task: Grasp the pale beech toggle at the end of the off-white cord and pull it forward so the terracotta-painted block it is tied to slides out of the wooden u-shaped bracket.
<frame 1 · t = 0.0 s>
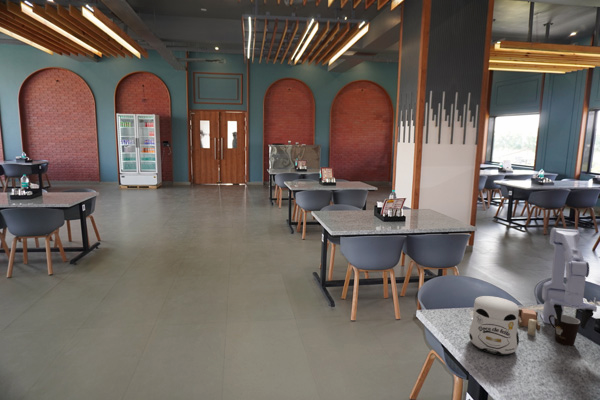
hand: (570, 325, 149), 10 cm above the table, fingers open, 7 cm apart
tethered block: (527, 324, 172), on the table
coffee mug: (562, 341, 158), on the table
milk container: (492, 347, 152), on the table
wooden u-shaped bracket: (528, 325, 171), on the table
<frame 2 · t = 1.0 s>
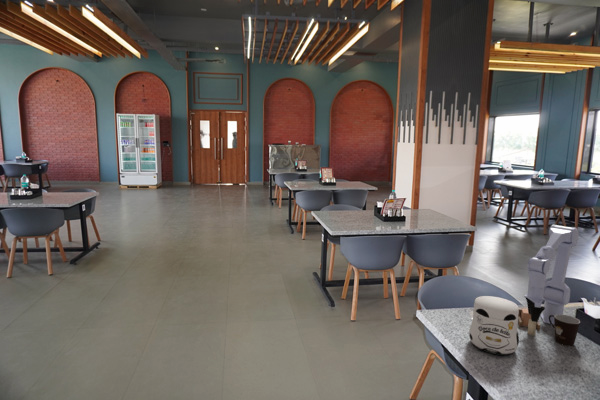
hand: (532, 317, 162), 7 cm above the table, fingers open, 7 cm apart
nothing on the table moved.
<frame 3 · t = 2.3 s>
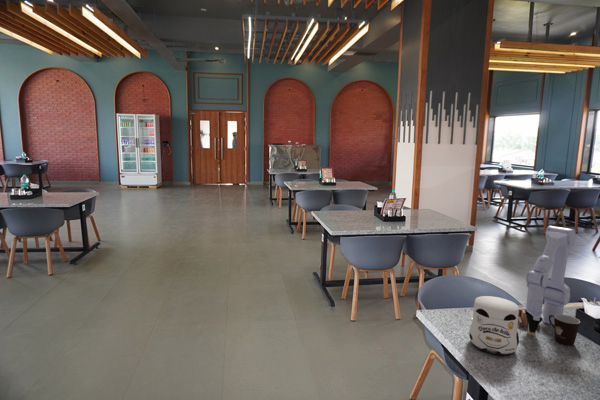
hand: (531, 330, 163), 2 cm above the table, fingers closed on tethered block, 3 cm apart
tethered block: (527, 324, 172), on the table, touching gripper
everything else where it was.
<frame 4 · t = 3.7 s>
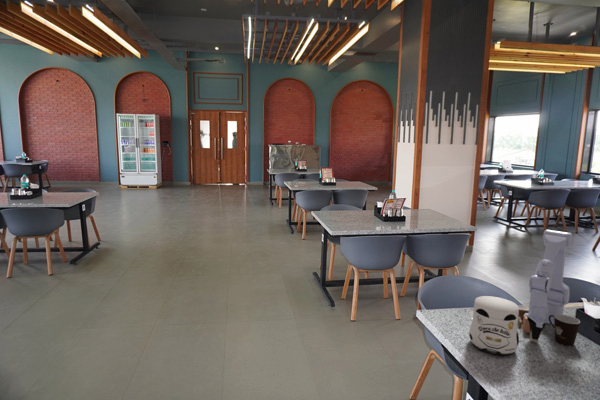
hand: (534, 337, 157), 2 cm above the table, fingers closed on tethered block, 3 cm apart
tethered block: (529, 330, 166), on the table, touching gripper
everything else where it was.
when the fingers open (2 cm above the table, at t = 5.1 s): tethered block stays where it is, on the table.
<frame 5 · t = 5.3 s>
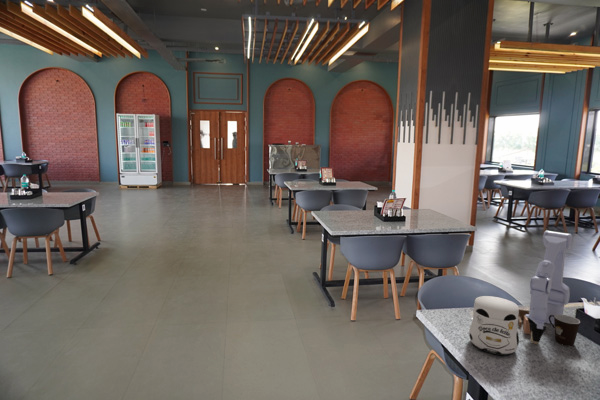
hand: (534, 338, 156), 2 cm above the table, fingers open, 4 cm apart
tethered block: (530, 331, 165), on the table
everything else where it was.
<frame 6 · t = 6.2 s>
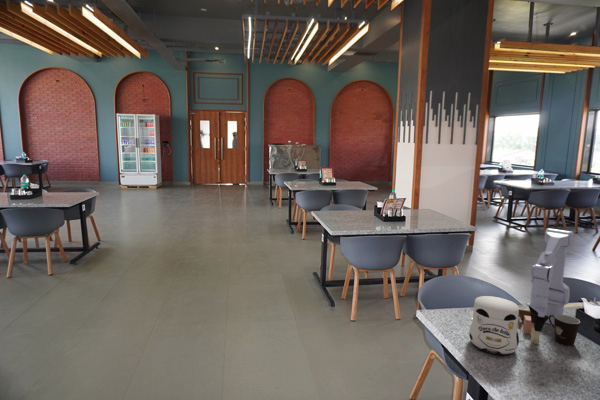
hand: (536, 326, 155), 7 cm above the table, fingers open, 7 cm apart
nothing on the table moved.
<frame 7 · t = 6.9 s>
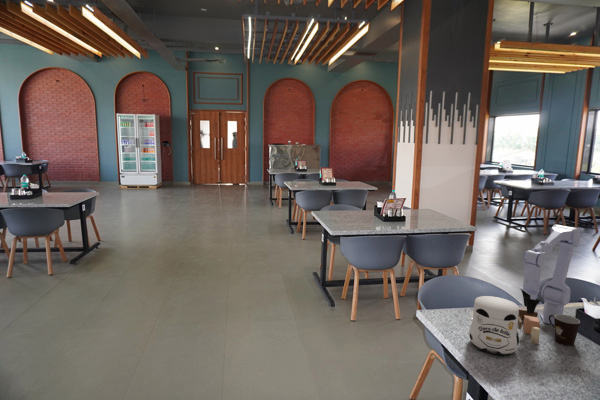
hand: (528, 309, 164), 10 cm above the table, fingers open, 7 cm apart
nothing on the table moved.
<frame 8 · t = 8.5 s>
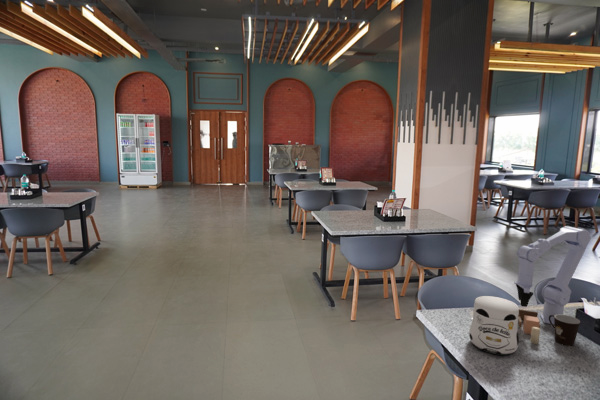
hand: (522, 303, 171), 10 cm above the table, fingers open, 7 cm apart
nothing on the table moved.
at the end: tethered block inside the target area (6.8 cm from its centre), on the table; the gripper is holding nothing; tethered block tilted 0° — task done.
